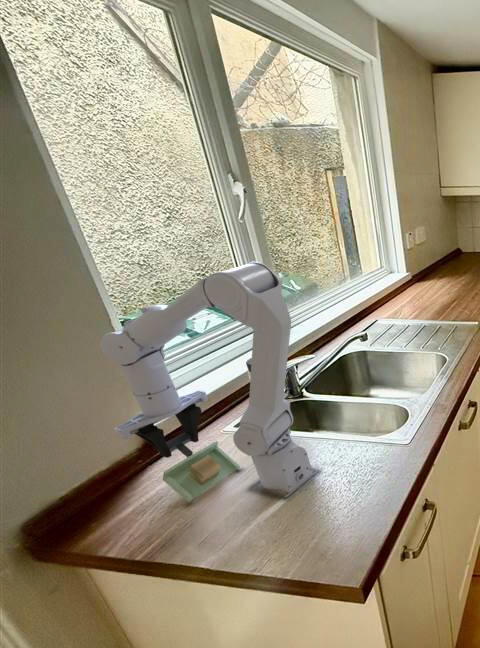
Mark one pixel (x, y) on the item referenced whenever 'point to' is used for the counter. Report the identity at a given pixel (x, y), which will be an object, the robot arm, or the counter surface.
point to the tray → (180, 472)
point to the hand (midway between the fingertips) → (180, 448)
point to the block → (205, 470)
